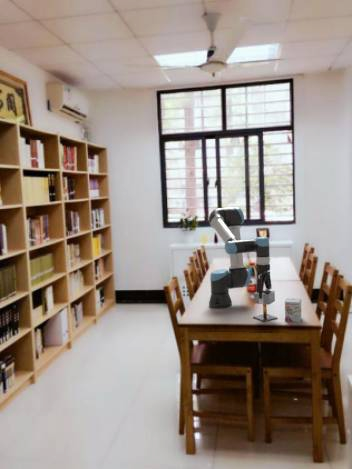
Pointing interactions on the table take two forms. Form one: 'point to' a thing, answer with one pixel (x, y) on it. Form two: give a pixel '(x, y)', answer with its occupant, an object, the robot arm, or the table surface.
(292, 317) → the ink box
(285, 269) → the table surface
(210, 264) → the table surface
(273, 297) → the link
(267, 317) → the post
